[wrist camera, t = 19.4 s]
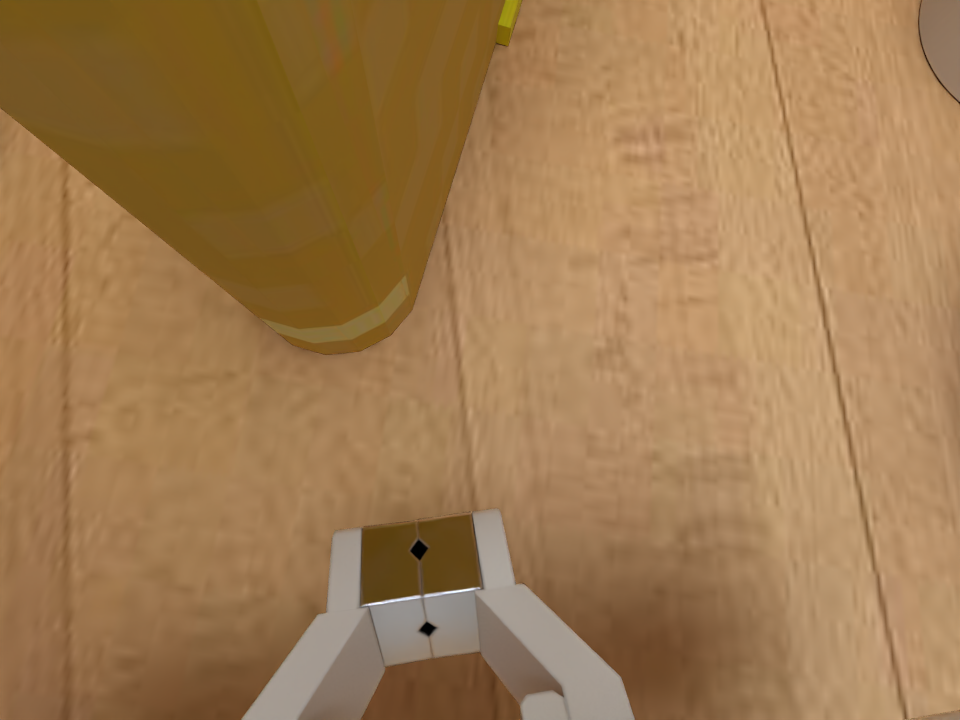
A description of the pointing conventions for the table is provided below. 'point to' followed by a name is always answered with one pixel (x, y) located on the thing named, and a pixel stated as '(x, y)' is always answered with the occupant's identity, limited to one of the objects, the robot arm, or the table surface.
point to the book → (266, 136)
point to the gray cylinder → (942, 40)
